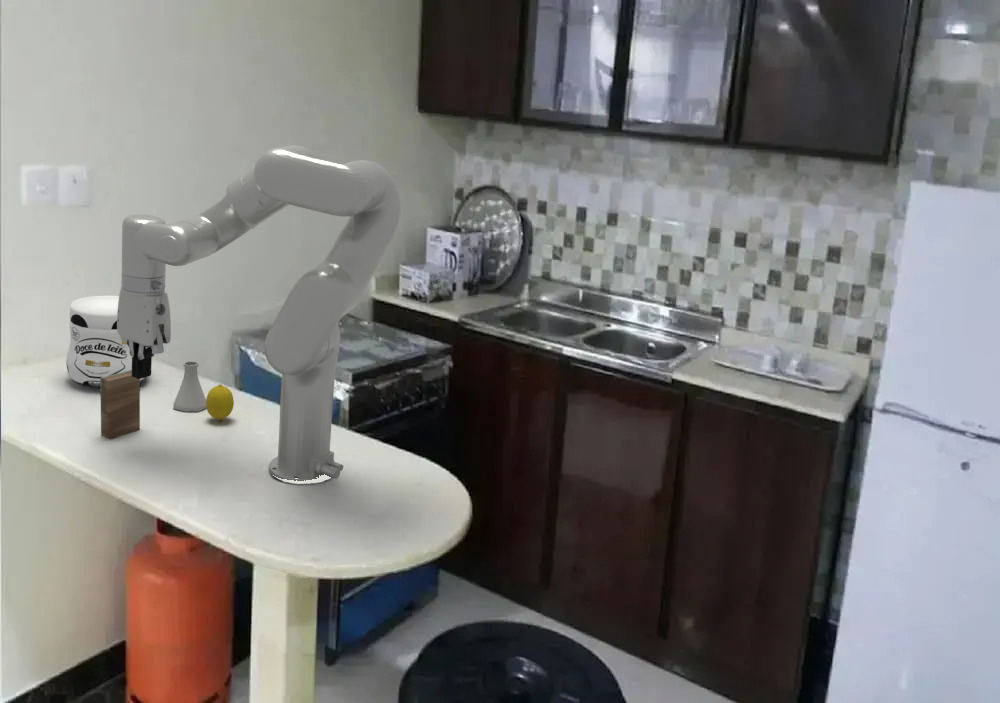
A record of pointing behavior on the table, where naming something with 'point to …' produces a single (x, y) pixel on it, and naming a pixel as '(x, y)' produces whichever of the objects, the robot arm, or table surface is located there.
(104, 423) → the walnut slab
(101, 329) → the milk container
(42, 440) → the table surface
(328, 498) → the table surface
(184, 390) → the flask
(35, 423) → the table surface
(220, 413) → the lemon
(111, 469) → the table surface
